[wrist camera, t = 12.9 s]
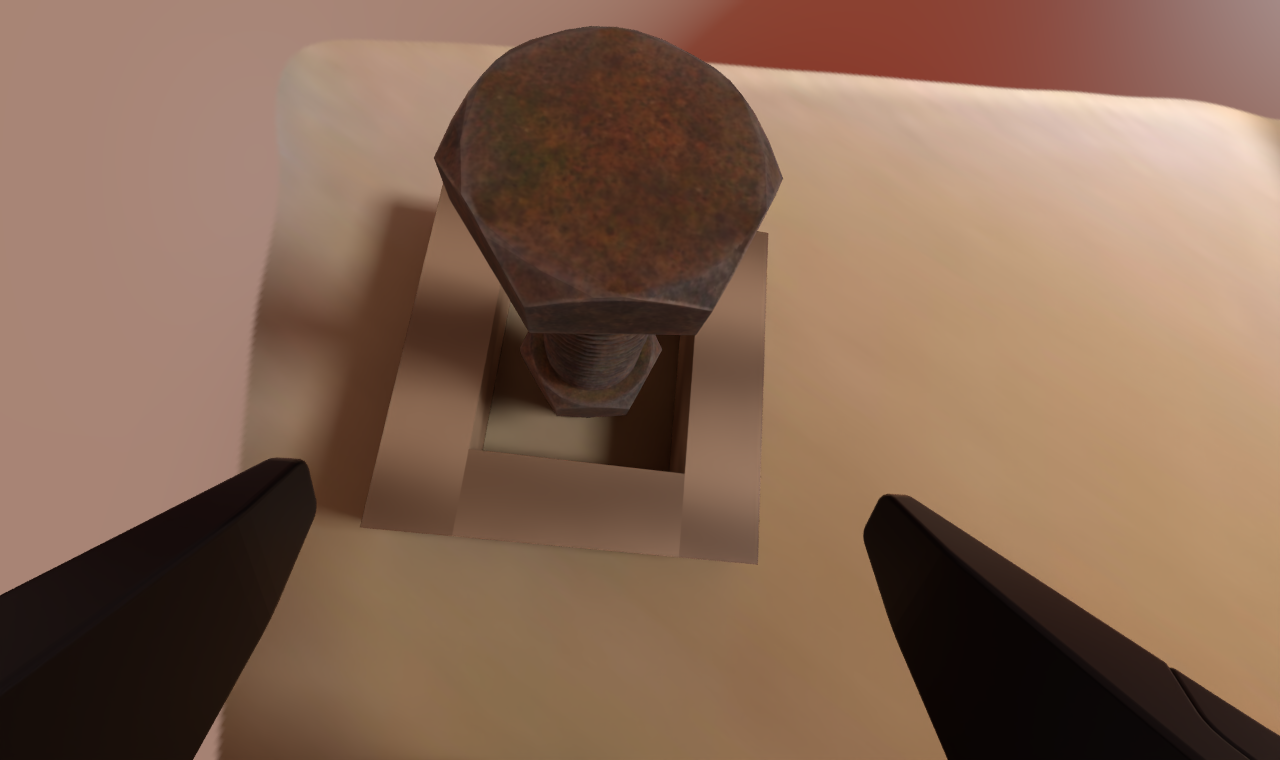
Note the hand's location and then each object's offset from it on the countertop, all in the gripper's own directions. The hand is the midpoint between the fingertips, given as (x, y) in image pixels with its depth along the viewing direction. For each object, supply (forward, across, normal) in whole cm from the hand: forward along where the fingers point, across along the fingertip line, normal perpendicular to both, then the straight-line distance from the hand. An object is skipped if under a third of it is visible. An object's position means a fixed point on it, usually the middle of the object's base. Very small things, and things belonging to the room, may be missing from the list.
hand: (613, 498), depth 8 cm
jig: (+14, 0, +6) cm, 15 cm away
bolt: (+14, 0, +6) cm, 15 cm away
